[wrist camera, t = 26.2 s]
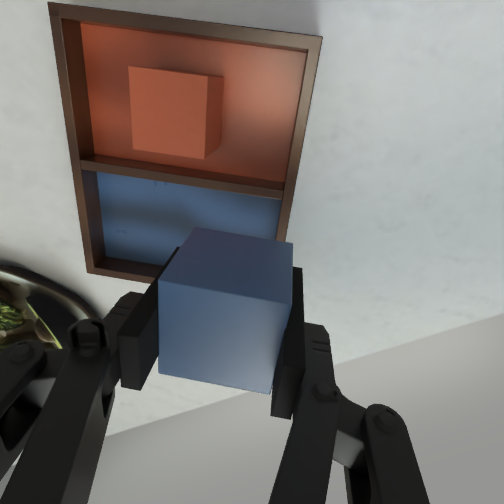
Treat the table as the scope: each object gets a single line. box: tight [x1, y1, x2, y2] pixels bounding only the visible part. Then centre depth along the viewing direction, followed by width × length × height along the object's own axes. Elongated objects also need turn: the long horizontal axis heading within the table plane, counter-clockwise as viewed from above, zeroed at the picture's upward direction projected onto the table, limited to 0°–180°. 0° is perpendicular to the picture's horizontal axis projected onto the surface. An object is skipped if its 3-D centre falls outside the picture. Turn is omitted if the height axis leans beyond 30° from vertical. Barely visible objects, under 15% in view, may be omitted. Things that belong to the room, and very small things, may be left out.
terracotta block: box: [128, 65, 224, 160], centre depth 23 cm, size 5×5×5 cm
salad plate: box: [0, 265, 97, 353], centre depth 38 cm, size 19×18×5 cm
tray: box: [47, 2, 323, 284], centre depth 27 cm, size 21×18×3 cm
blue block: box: [158, 227, 293, 394], centre depth 15 cm, size 5×5×5 cm
